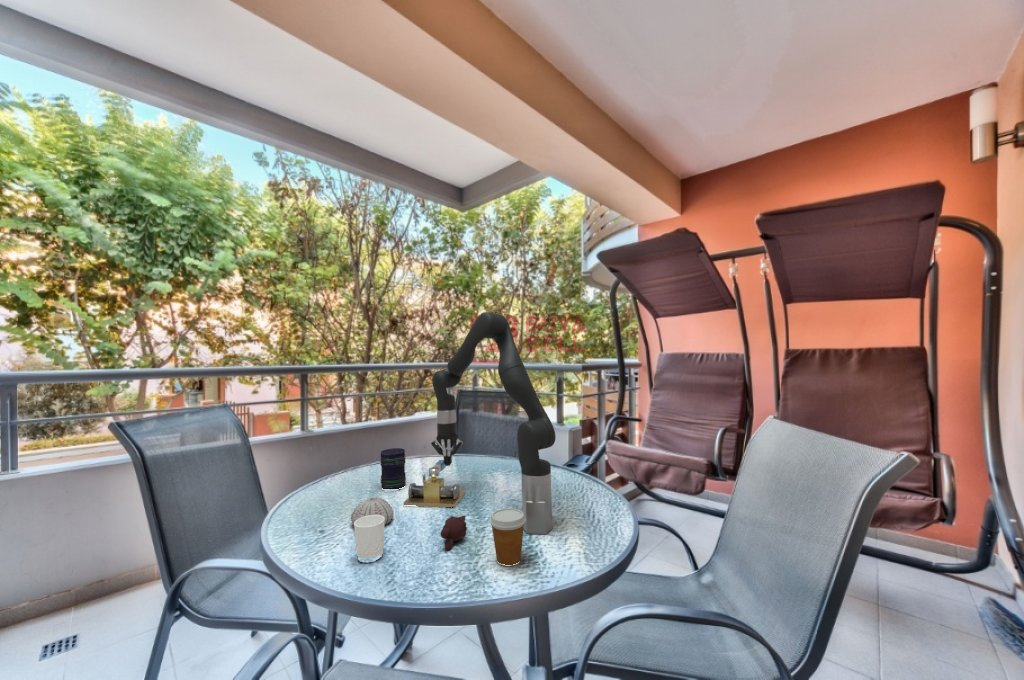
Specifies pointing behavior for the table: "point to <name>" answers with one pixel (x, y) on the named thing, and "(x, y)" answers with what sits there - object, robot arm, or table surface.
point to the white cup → (369, 536)
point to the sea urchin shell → (373, 509)
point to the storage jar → (393, 468)
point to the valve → (434, 493)
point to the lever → (436, 468)
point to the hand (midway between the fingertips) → (447, 465)
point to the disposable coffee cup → (508, 534)
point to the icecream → (453, 530)
